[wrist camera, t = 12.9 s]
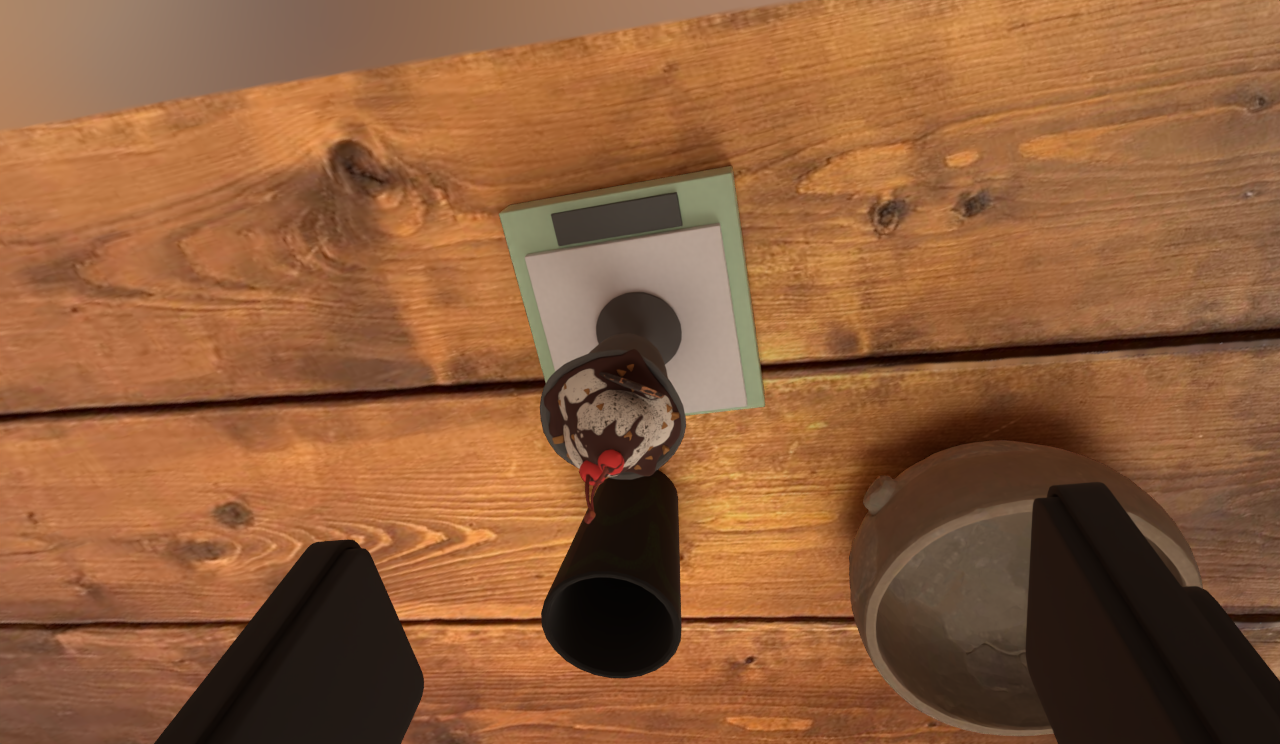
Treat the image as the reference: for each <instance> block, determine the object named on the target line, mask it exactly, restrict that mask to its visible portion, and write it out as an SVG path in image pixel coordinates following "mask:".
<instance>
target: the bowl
mask: <svg viewBox="0 0 1280 744" xmlns="http://www.w3.org/2000/svg"><path fill="white" fill-rule="evenodd" d="M1090 482H1101V483H1104V484H1105V485H1106V486H1107V487H1108V488H1109V490H1110V491H1111V492H1112V494H1113V495H1114V496H1115V498H1116V499H1117V500H1118V502H1119V503H1120V504H1121V506H1122V507H1123V508H1124V510H1125V511H1126V512H1127V514H1128V515H1129V516H1130V518H1131V519H1132V520H1133V522H1134V523H1135V524H1136V526H1137V527H1138V529H1139V530H1140V531H1141V533H1142V534H1143V535H1144V537H1145V538H1146V539H1147V541H1148V542H1149V543H1150V545H1151V546H1152V547H1153V549H1154V550H1155V551H1156V553H1157V554H1158V555H1159V557H1160V558H1161V559H1162V561H1163V562H1164V563H1165V565H1166V566H1167V567H1168V569H1169V570H1170V572H1171V573H1172V574H1173V576H1174V577H1175V578H1176V580H1177V581H1178V582H1179V584H1180V585H1181V586H1182V587H1188V586H1198V587H1200V588H1202V589H1203V587H1202V580H1201V576H1200V572H1199V569H1198V566H1197V563H1196V561H1195V558H1194V556H1193V553H1192V551H1191V548H1190V546H1189V544H1188V543H1187V541H1186V539H1185V538H1184V536H1183V535H1182V533H1181V531H1180V530H1179V528H1178V527H1177V525H1176V523H1175V522H1174V521H1173V519H1172V518H1171V517H1170V516H1169V515H1168V514H1167V512H1166V511H1165V510H1164V509H1163V508H1162V507H1161V506H1160V505H1159V504H1158V503H1157V502H1156V501H1155V500H1154V499H1153V498H1152V497H1151V496H1150V495H1148V494H1147V493H1146V492H1145V491H1143V490H1142V489H1141V488H1140V487H1138V486H1137V485H1136V484H1135V483H1133V482H1132V481H1131V480H1130V479H1128V478H1126V477H1125V476H1123V475H1121V474H1120V473H1118V472H1116V471H1115V470H1113V469H1111V468H1110V467H1108V466H1106V465H1104V464H1102V463H1100V462H1097V461H1095V460H1093V459H1090V458H1088V457H1086V456H1083V455H1080V454H1077V453H1074V452H1071V451H1067V450H1064V449H1060V448H1055V447H1050V446H1045V445H1038V444H1032V443H1025V442H1017V441H1008V440H995V441H983V442H974V443H968V444H963V445H959V446H955V447H951V448H948V449H945V450H942V451H940V452H937V453H934V454H932V455H930V456H929V457H927V458H926V459H924V460H922V461H920V462H918V463H916V464H914V465H912V466H910V467H909V468H908V469H906V470H905V471H903V472H902V473H901V474H899V475H898V476H897V477H896V478H895V479H893V478H891V477H889V476H887V475H886V476H879V477H878V478H877V479H876V480H875V481H874V482H873V483H872V484H871V485H870V487H869V489H868V490H867V492H866V494H865V496H864V499H863V504H864V506H865V507H866V508H867V509H868V512H867V514H866V515H865V518H864V519H863V521H862V523H861V525H860V527H859V529H858V531H857V534H856V536H855V538H854V539H853V542H852V547H851V552H850V556H849V560H850V567H849V576H850V589H851V604H852V611H853V614H854V618H855V622H856V625H857V628H858V631H859V633H860V636H861V639H862V641H863V643H864V646H865V648H866V651H867V653H868V654H869V656H870V658H871V660H872V662H873V664H874V665H875V667H876V668H877V670H878V671H879V673H880V674H881V675H882V677H883V678H884V680H885V681H886V682H887V683H888V684H889V685H890V686H891V687H892V688H893V689H894V690H895V691H896V692H897V693H898V694H899V695H900V696H901V697H902V698H903V699H904V700H906V701H907V702H908V703H909V704H911V705H912V706H913V707H915V708H916V709H918V710H919V711H921V712H923V713H925V714H927V715H928V716H930V717H932V718H934V719H936V720H938V721H941V722H943V723H946V724H948V725H951V726H954V727H957V728H960V729H964V730H968V731H973V732H978V733H984V734H993V735H1005V736H1034V735H1043V734H1052V733H1054V732H1053V730H1052V728H1051V725H1050V723H1049V721H1048V718H1047V716H1046V713H1045V711H1044V709H1043V706H1042V704H1041V702H1040V699H1039V697H1038V695H1037V692H1036V690H1035V687H1034V685H1033V683H1032V680H1031V677H1030V674H1029V671H1028V666H1027V661H1026V650H1025V648H1026V628H1027V608H1028V588H1029V568H1030V549H1031V529H1032V509H1033V502H1034V500H1035V499H1036V498H1046V497H1047V493H1048V490H1049V488H1050V487H1051V486H1053V485H1064V484H1077V483H1090Z"/></svg>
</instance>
